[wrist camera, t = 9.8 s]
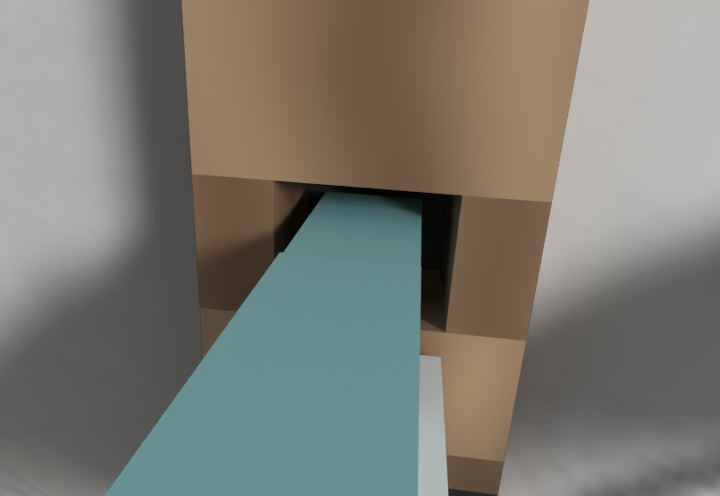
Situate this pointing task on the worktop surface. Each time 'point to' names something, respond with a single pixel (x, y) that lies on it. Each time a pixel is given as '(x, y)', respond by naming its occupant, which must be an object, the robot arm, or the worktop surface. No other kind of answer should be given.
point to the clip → (306, 371)
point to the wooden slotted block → (390, 163)
